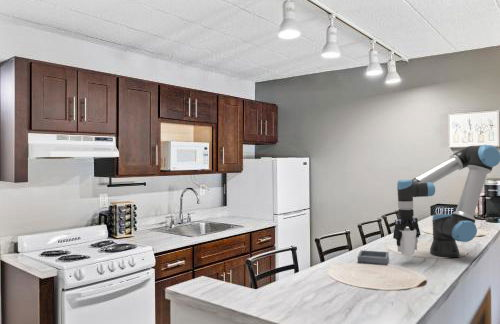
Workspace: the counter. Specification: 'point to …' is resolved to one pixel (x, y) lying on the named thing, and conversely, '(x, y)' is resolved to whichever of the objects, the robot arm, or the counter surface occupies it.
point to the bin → (373, 257)
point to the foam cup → (408, 241)
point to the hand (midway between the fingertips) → (407, 250)
